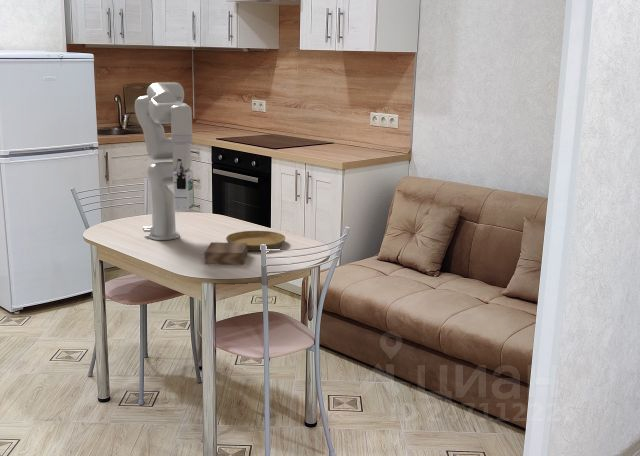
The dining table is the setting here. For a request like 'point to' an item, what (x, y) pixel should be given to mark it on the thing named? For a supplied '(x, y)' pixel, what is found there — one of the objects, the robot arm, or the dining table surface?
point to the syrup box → (184, 193)
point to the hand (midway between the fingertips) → (183, 186)
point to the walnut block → (226, 253)
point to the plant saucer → (257, 239)
